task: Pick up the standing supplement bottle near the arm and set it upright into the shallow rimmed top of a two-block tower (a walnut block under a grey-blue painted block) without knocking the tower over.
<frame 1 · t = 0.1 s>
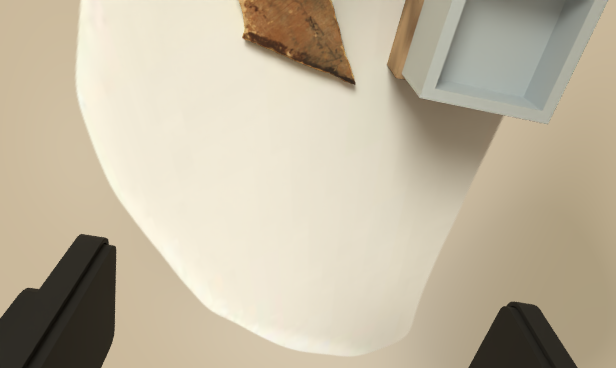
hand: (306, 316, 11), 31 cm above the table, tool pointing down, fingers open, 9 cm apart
tower bottom: (461, 15, 38), on the table, touching tower top
tower top: (480, 25, 34), point 4 cm above the table, touching tower bottom
shard: (307, 9, 38), on the table
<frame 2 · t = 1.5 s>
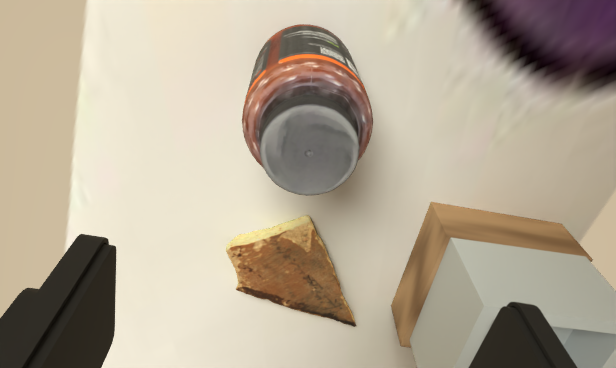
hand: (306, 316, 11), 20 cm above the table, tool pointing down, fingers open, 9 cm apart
tower bottom: (470, 263, 36), on the table, touching tower top
tower top: (492, 300, 32), point 4 cm above the table, touching tower bottom
supplement bottle: (304, 72, 28), on the table
shard: (305, 256, 36), on the table
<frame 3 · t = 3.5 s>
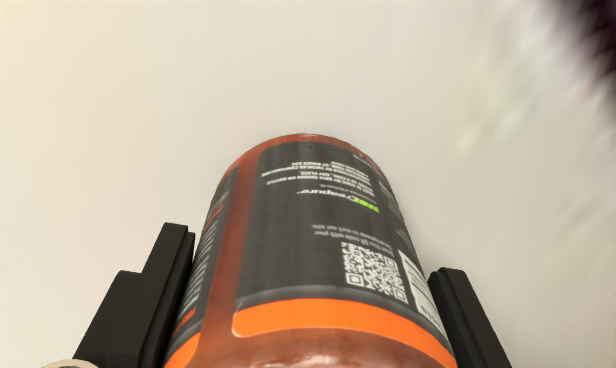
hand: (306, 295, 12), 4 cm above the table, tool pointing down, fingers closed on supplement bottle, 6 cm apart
supplement bottle: (304, 206, 16), on the table, touching gripper
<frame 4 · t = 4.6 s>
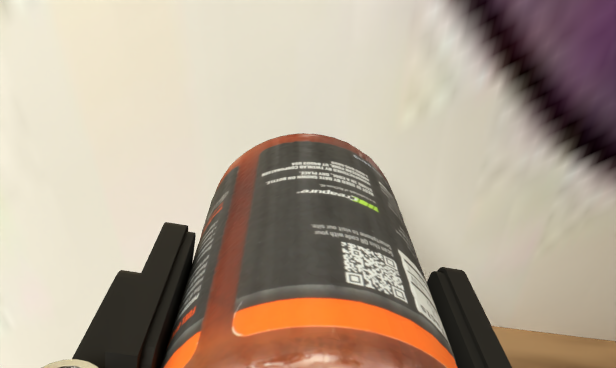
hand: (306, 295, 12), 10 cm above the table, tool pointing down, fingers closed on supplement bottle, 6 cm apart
supplement bottle: (304, 206, 16), point 5 cm above the table, touching gripper
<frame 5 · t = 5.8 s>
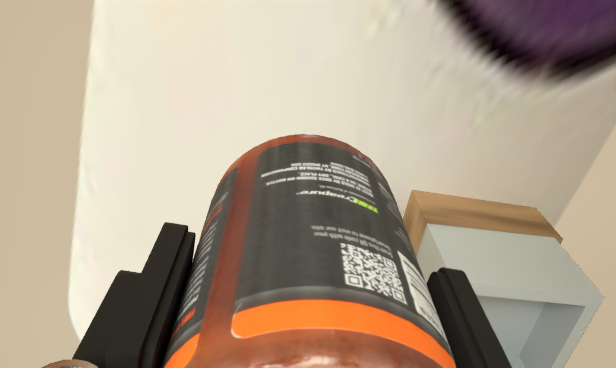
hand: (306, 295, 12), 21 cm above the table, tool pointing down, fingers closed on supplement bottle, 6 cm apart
tower bottom: (453, 249, 38), on the table, touching tower top
tower top: (471, 282, 34), point 4 cm above the table, touching tower bottom
supplement bottle: (304, 207, 16), point 17 cm above the table, touching gripper
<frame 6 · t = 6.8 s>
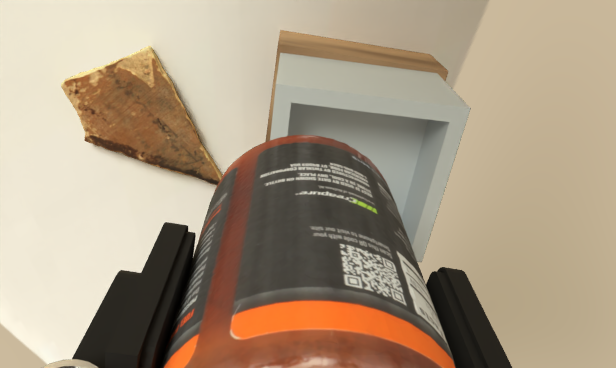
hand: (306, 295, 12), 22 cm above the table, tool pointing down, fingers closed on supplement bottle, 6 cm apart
tower bottom: (341, 112, 33), on the table, touching tower top
tower top: (346, 136, 29), point 4 cm above the table, touching tower bottom
supplement bottle: (303, 207, 16), point 18 cm above the table, touching gripper
shard: (161, 105, 33), on the table
when the fingers open (12 cm above the table, at t = 9.8 s): supplement bottle stays where it is, point 8 cm above the table.
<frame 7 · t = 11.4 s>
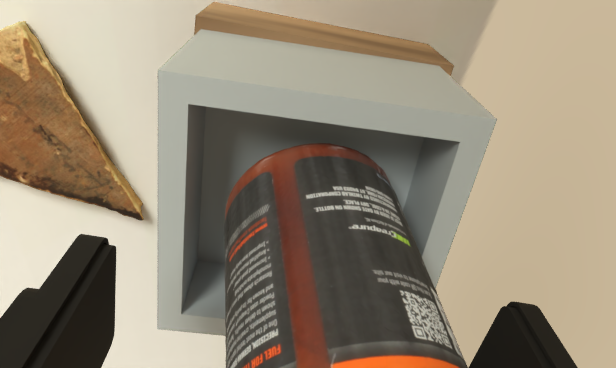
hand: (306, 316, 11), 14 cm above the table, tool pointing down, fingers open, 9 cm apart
tower bottom: (303, 122, 24), on the table, touching tower top
tower top: (304, 156, 20), point 4 cm above the table, touching tower bottom
supplement bottle: (308, 198, 17), point 8 cm above the table, touching gripper
shard: (52, 106, 23), on the table
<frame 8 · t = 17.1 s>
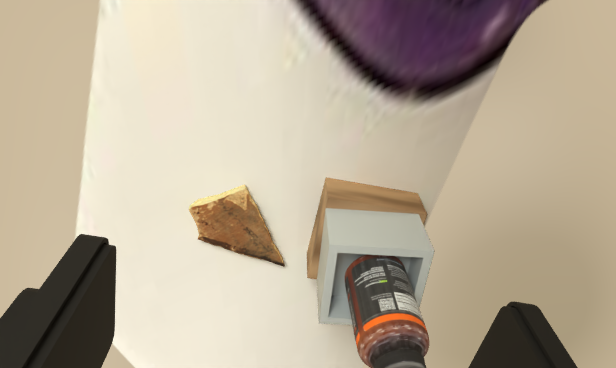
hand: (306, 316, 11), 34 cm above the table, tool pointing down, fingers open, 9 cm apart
tower bottom: (359, 223, 51), on the table, touching tower top
tower top: (365, 249, 47), point 4 cm above the table, touching supplement bottle, tower bottom
supplement bottle: (373, 270, 45), point 7 cm above the table, touching tower top
shard: (246, 215, 51), on the table
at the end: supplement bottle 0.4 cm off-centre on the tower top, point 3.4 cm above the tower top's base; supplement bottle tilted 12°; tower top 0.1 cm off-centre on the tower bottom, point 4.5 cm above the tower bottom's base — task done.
